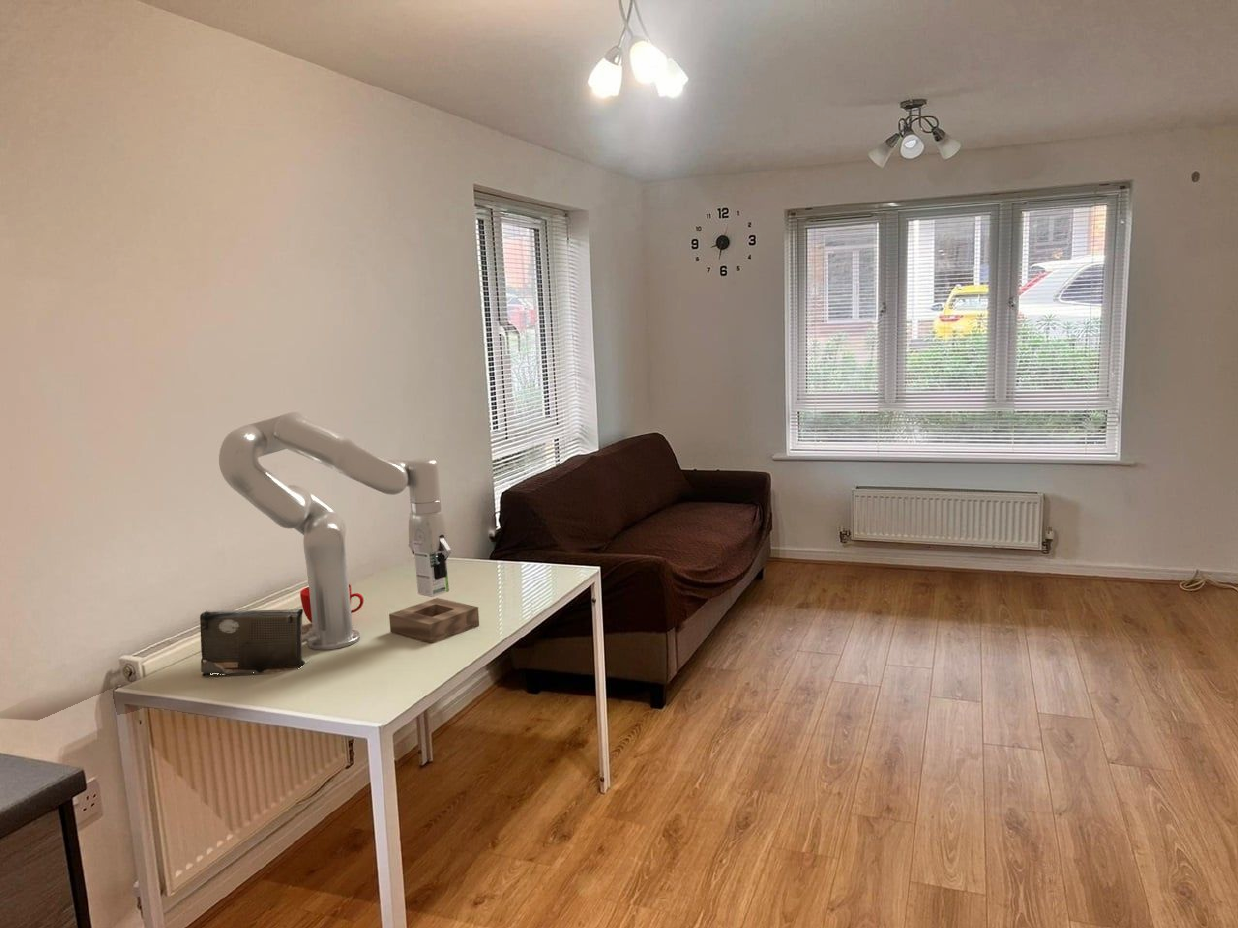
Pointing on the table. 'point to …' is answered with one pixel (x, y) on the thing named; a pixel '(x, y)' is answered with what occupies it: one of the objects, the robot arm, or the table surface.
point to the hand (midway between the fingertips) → (431, 575)
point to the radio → (251, 641)
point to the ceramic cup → (307, 607)
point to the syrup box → (428, 574)
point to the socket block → (434, 620)
